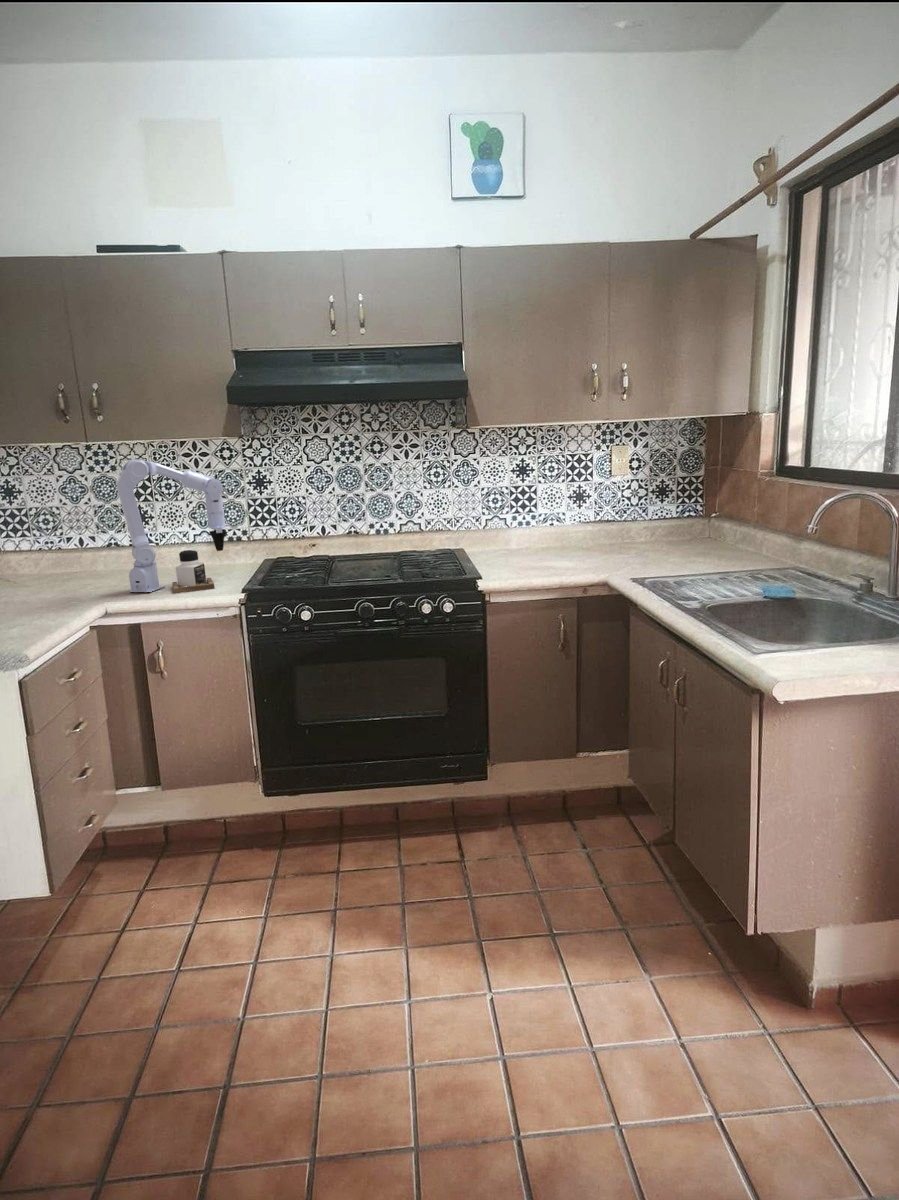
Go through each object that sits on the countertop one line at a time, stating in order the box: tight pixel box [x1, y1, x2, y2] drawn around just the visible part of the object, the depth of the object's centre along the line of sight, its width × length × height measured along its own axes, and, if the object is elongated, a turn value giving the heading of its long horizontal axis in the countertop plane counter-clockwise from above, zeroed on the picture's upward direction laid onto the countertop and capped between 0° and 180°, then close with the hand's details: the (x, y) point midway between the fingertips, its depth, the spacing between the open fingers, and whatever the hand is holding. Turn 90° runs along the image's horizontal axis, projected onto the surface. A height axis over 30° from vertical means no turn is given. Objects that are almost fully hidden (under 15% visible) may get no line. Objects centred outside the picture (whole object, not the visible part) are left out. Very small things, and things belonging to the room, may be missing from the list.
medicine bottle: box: [175, 549, 207, 587], centre depth 269 cm, size 7×7×12 cm
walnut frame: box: [171, 577, 215, 594], centre depth 265 cm, size 12×13×2 cm
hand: (219, 550), depth 275 cm, fingers closed
